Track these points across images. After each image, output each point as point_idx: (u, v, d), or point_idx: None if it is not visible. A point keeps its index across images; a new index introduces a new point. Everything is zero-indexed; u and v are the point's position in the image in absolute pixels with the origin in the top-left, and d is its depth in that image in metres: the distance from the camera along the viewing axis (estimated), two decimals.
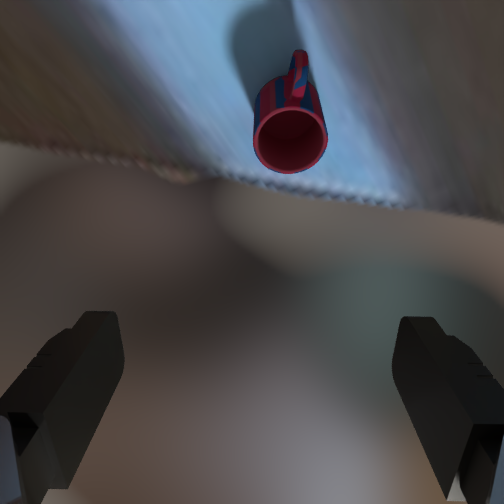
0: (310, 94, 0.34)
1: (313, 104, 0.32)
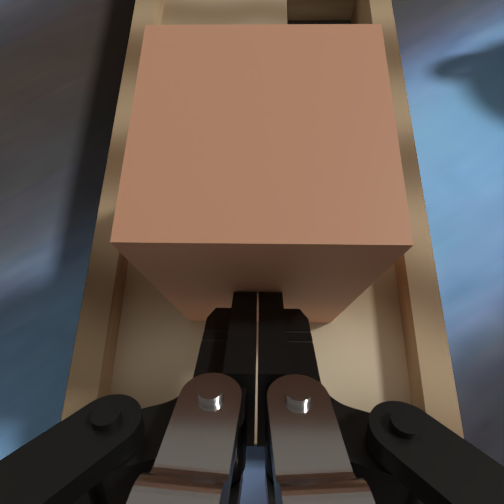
0: None
1: None
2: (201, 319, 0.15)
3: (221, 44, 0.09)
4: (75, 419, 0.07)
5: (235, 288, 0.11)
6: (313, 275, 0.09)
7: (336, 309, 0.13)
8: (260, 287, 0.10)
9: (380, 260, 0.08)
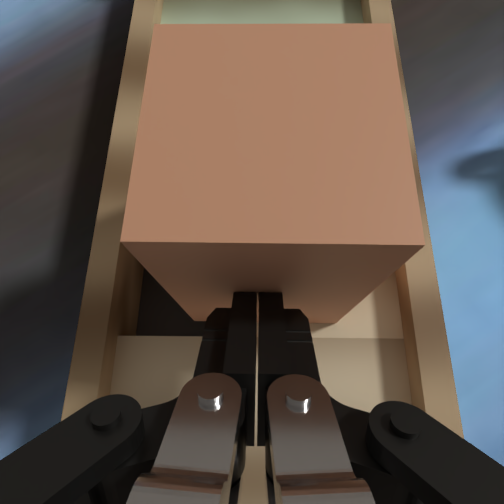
0: None
1: None
2: (206, 319, 0.15)
3: (230, 44, 0.09)
4: (75, 419, 0.07)
5: (243, 288, 0.11)
6: (322, 275, 0.09)
7: (342, 309, 0.13)
8: (268, 287, 0.10)
9: (390, 260, 0.08)
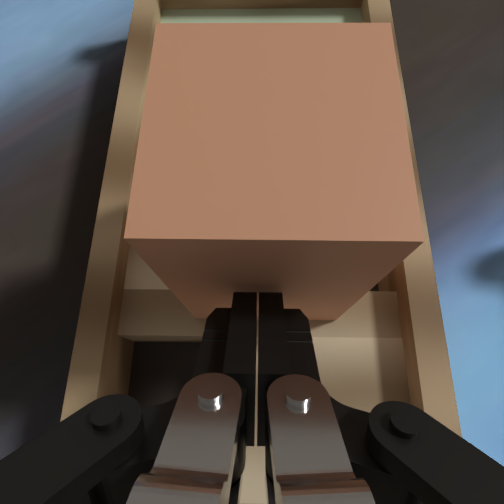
0: None
1: None
2: (207, 316, 0.16)
3: (231, 43, 0.09)
4: (75, 419, 0.07)
5: (244, 285, 0.11)
6: (322, 271, 0.09)
7: (342, 306, 0.13)
8: (269, 284, 0.10)
9: (390, 257, 0.08)
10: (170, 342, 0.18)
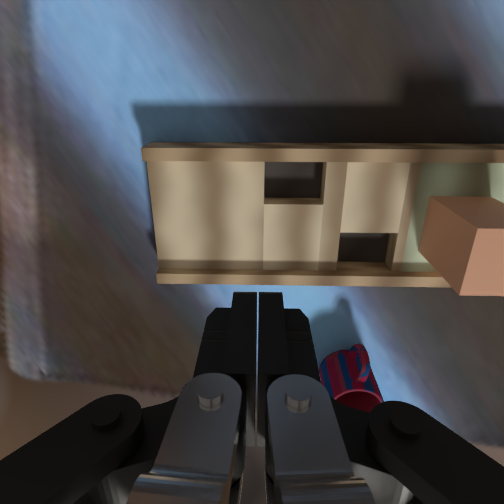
0: None
1: (371, 382, 0.44)
2: (429, 202, 0.37)
3: None
4: (75, 419, 0.07)
5: (450, 238, 0.33)
6: (452, 266, 0.32)
7: (429, 259, 0.37)
8: (449, 246, 0.33)
9: (455, 286, 0.32)
10: (321, 172, 0.38)
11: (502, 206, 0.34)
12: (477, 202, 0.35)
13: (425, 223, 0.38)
